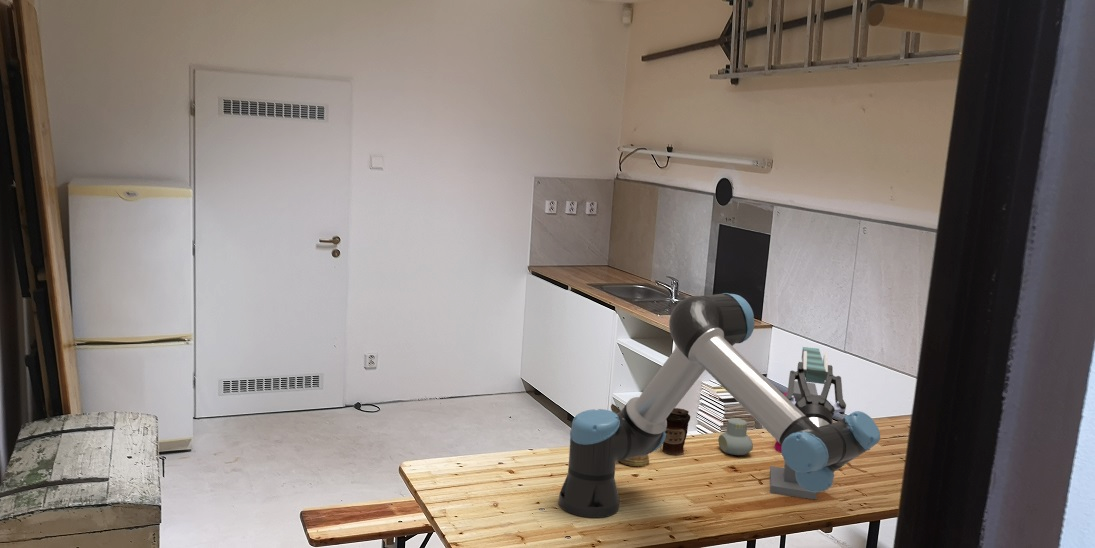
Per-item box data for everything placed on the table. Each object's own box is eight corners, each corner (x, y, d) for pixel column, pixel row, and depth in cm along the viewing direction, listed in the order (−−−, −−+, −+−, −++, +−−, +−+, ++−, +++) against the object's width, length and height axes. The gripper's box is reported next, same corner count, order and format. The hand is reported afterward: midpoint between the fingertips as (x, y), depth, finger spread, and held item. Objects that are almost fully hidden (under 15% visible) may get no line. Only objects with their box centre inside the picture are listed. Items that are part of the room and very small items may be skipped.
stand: (816, 500, 223) (828, 398, 219) (770, 492, 226) (781, 392, 222) (813, 479, 239) (824, 383, 235) (769, 472, 241) (780, 378, 238)
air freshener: (715, 446, 262) (718, 415, 260) (740, 446, 263) (743, 415, 262) (728, 458, 251) (731, 426, 250) (754, 458, 253) (757, 426, 251)
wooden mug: (599, 459, 243) (603, 399, 240) (638, 454, 249) (643, 396, 247) (615, 470, 235) (620, 408, 232) (655, 465, 241) (660, 404, 239)
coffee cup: (686, 458, 248) (690, 416, 247) (658, 455, 250) (662, 413, 248) (687, 449, 257) (691, 408, 255) (660, 445, 258) (664, 405, 257)
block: (824, 384, 191) (825, 371, 191) (806, 381, 192) (807, 369, 192) (817, 360, 216) (818, 348, 216) (801, 358, 217) (802, 346, 217)
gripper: (772, 433, 187) (776, 363, 205) (853, 445, 183) (850, 372, 201) (775, 410, 182) (779, 340, 200) (858, 421, 178) (854, 348, 196)
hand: (814, 356), depth 200 cm, fingers closed on block, 4 cm apart
